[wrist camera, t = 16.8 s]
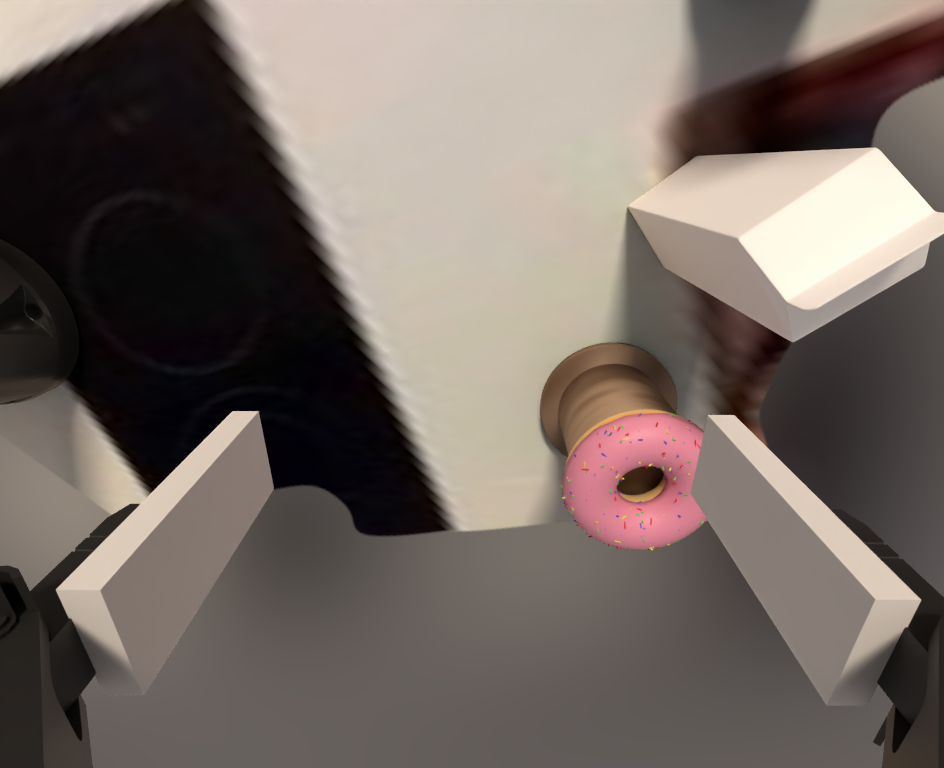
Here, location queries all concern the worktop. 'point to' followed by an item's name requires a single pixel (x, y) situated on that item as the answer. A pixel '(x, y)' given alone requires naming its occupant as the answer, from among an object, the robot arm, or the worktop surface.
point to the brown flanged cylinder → (605, 398)
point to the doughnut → (620, 451)
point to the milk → (789, 231)
